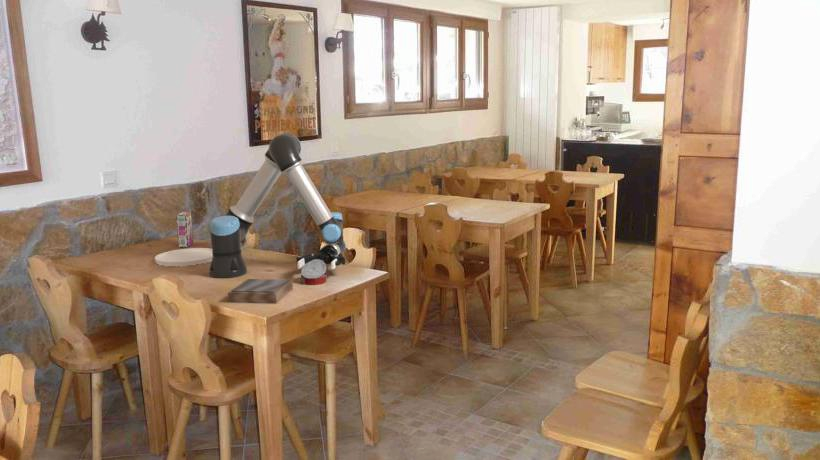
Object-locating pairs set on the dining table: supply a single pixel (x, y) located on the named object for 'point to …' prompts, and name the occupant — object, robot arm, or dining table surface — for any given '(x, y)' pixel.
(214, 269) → the robot arm
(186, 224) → the candy bar box
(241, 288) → the display podium
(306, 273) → the canned food
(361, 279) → the dining table surface
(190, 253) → the plate
